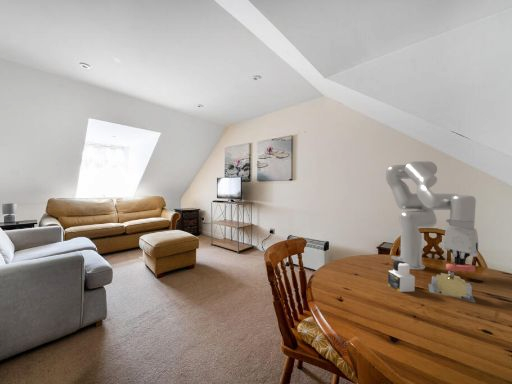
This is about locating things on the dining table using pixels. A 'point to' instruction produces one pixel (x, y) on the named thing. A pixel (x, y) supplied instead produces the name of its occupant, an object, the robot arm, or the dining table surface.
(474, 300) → the mat
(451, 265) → the lever
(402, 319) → the dining table surface
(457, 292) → the valve
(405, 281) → the medicine bottle
